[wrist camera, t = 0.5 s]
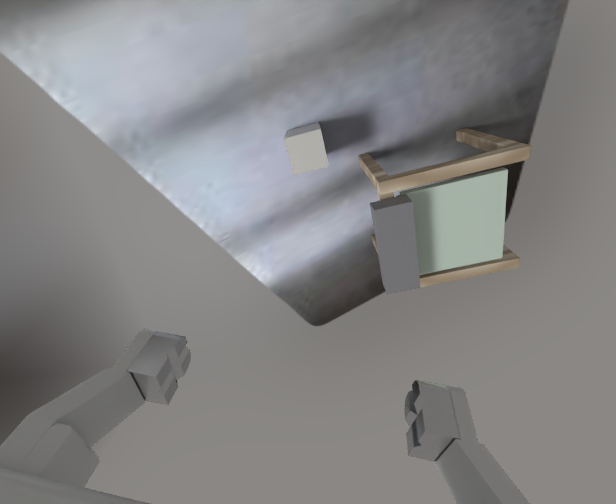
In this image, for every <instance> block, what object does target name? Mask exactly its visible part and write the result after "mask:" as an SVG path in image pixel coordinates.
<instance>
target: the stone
mask: <svg viewBox="0 0 616 504" xmlns="http://www.w3.org/2000/svg"><path fill="white" fill-rule="evenodd" d="M284 141H285V145H286V148H287V152H288V156H289V159H290V163H291V167H292V170H293V174H294V175H298V174H302V173H305V172H309V171H313V170H317V169H321V168H325V167H329V164H328V160H327V155H326V150H325V146H324V141H323V136H322V132H321V128H320V125H319V122H317V123H313V124H310V125H306V126H302V127H299V128H295V129H291V130H288V131H287V132H286V135H285V137H284Z"/></svg>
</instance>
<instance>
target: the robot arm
mask: <svg viewBox="0 0 616 504" xmlns="http://www.w3.org/2000/svg"><path fill="white" fill-rule="evenodd" d="M186 344H187V340H186V337H185V336H179V335H174V334H169V333H163V332H159V331H154V330H149V329H143V330H142V331H140V332H139V333H138V335H137V336H136V337H135V338H134V340H133V341H132V342H131V344H130V345H129V346H128V347H127V349H126V350H125V351H124V353H123V354H122V355H121V357H120V358H119V360H118V361H117V362H116V363H115V365H114V366H113V367H112V368H111V369H110V368H107V369H105V370H103V371H102V372H100V373H98V374H96V375H95V376H93V377H91V378H90V379H88V380H86V381H85V382H83V383H81V384H79V385H78V386H76V387H74V388H73V389H71V390H69V391H68V392H66V393H64V394H62V395H61V396H59V397H57V398H56V399H54V400H52V401H51V402H49V403H47V404H45V405H44V406H42V407H40V408H39V409H37V410H35V411H34V412H32V413H30V414H29V415H28V416H27V417H26V418H25V419H24V420H23V421H22V422H21V423H20V425H19V426H18V427H17V428H16V429H15V430H14V431H13V433H12V434H11V435H10V436H9V437H8V438H7V439H6V441H4V443H3V444H2V445H1V446H0V504H150V503H145V502H141V501H137V500H133V499H129V498H125V497H120V496H117V495H112V494H108V493H104V492H100V491H96V490H92V489H88V488H84V486H85V485H86V483H87V482H88V480H89V478H90V476H91V475H92V473H93V472H94V470H95V468H96V466H97V465H98V463H99V456H98V455H97V454H96V453H95V452H94V451H93V450H92V449H91V448H90V447H91V446H92V445H94V443H96V442H97V441H99V440H100V439H101V438H102V437H103V436H105V435H106V434H107V433H108V432H109V431H111V430H112V429H113V428H114V427H116V426H117V425H118V424H119V423H121V422H122V421H123V420H124V419H125V418H127V417H128V416H129V415H130V414H131V413H133V412H134V411H135V410H136V409H138V408H139V407H140V406H141V405H143V404H144V403H145V401H150V402H155V403H161V404H167V405H168V404H169V402H170V401H171V399H172V397H173V395H174V393H175V391H176V390H177V388H178V385H177V380H178V379H179V378H181V377H182V376H183V375H184V374H185V373H186V371H187V369H188V366H189V363H190V356H191V354H190V350H189V349H188V348H187V347H186ZM405 420H406V421H407V423H408V425H409V426H410V428H409V430H408V432H407V433H406V435H407V446H408V455H409V456H412V457H417V458H421V459H425V460H429V461H433V462H435V465H436V467H437V468H438V470H439V472H440V474H441V476H442V478H443V479H444V481H445V483H446V485H447V487H448V488H449V490H450V492H451V494H452V495H453V497H454V499H455V501H456V503H457V504H530V503H529V502H528V500H527V499H526V498H525V497H524V495H523V494H522V493H521V492H520V490H519V489H518V488H517V486H516V485H515V484H514V483H513V481H512V480H511V479H510V478H509V476H508V475H507V474H506V473H505V471H504V470H503V469H502V467H501V466H500V465H499V464H498V462H497V461H496V460H495V458H494V457H493V456H492V455H491V453H490V452H489V451H488V449H487V448H486V447H485V446H484V445H483V444H479V442H478V439H477V435H476V431H475V427H474V423H473V419H472V416H471V412H470V408H469V404H468V401H467V397H466V393H465V391H464V390H463V389H462V388H458V387H452V386H447V385H443V384H437V383H431V382H425V381H419V380H415V381H414V382H413V384H412V391H409V392H408V394H407V396H406V400H405Z"/></svg>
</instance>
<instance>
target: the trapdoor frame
mask: <svg viewBox="0 0 616 504" xmlns="http://www.w3.org/2000/svg"><path fill="white" fill-rule="evenodd" d="M456 141H459V142H462V143H465V144H467V145H470V146H473V147H475V148H478V149H481V150H483V151H486V152H485V153H481V154H477V155H473V156H469V157H465V158H461V159H456V160H452V161H448V162H444V163H440V164H436V165H432V166H428V167H424V168H420V169H416V170H412V171H407V172H403V173H399V174H395V175H391V176H388V175H387V174H386V173H385V172H384V170H383V169H382V168H381V167H380V166H379V165H378V164H377V163H376V162H375V161H374V159H373V158H372V157H371V156H370V155H369V154H368V153H366V154H362V155H359V161H360V165H361V167H362V168H363V170H364V171H365V173H366V174H367V176H368V177H369V179H370V180H371V182H372V183H373V184H374V186H375V187H376V189H377V190H378V195H379V201H381V200H385V199H390V198H394V194H393V192H394V191H399V190H403V189H407V188H411V187H415V186H419V185H424V184H428V183H432V182H436V181H440V180H445V179H449V178H453V177H457V176H461V175H465V174H470V173H474V172H478V171H482V170H486V169H491V168H495V167H499V166H503V165H507V164H512V163H516V162H520V161H524V160H528V159H530V152H531V145H527V144H524V143H520V142H516V141H512V140H509V139H505V138H501V137H498V136H494V135H490V134H486V133H483V132H479V131H475V130H472V129H468V128H464V129H460V130H456ZM372 239H373V244H374V246H375V248H376V251H377V253H378V250H377V244H376V237H375V235H372ZM519 265H520V257H518V256H517V255H516V254H515V253H513V252H512V251H511V250H510V249H508V248H507V247H506V246H505V245H503V255H502V258H500V259H495V260H490V261H485V262H480V263H475V264H470V265H466V266H461V267H456V268H451V269H446V270H441V271H437V272H432V273H427V274H422V275H419V278H420V287H424V286H429V285H434V284H439V283H444V282H449V281H454V280H459V279H464V278H469V277H473V276H479V275H483V274H489V273H493V272H499V271H503V270H509V269H514V268H518V267H519Z"/></svg>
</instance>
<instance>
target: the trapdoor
mask: <svg viewBox="0 0 616 504" xmlns="http://www.w3.org/2000/svg"><path fill="white" fill-rule="evenodd" d="M507 178H508V169H506V168H503V167H502V168H498V169H494V170H490V171H486V172H481V173H477V174H473V175H469V176H465V177H460V178H456V179H452V180H448V181H444V182H439V183H435V184H431V185H427V186H423V187H419V188H414V189H410V190H406V191H402V192H400V195H398V196H396V197H394V198H390V199H385V200H381V201H377V202H373V203H370V206H371V213H372V219H373V225H374V231H375V237H376V244H377V250H378V256H379V262H380V268H381V275H382V281H383V285H384V288H385V290H386V293H387V294H392V293H397V292H402V291H407V290H412V289H416V288H420V278H419V275H422V274H427V273H432V272H437V271H441V270H446V269H451V268H456V267H461V266H466V265H470V264H475V263H480V262H485V261H490V260H495V259H500V258H502V255H503V240H504V224H505V209H506V194H507Z"/></svg>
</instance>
